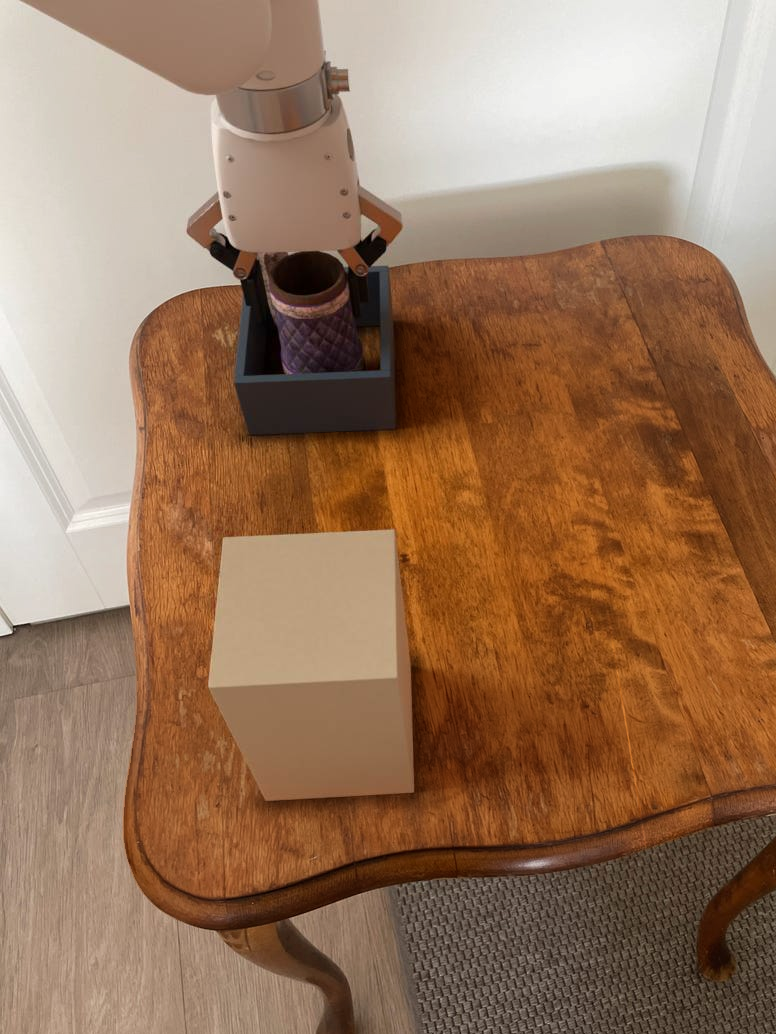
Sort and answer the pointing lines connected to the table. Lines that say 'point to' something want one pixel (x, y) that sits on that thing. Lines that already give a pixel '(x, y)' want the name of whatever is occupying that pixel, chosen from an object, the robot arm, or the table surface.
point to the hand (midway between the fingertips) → (309, 307)
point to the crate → (318, 378)
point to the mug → (312, 312)
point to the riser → (315, 663)
